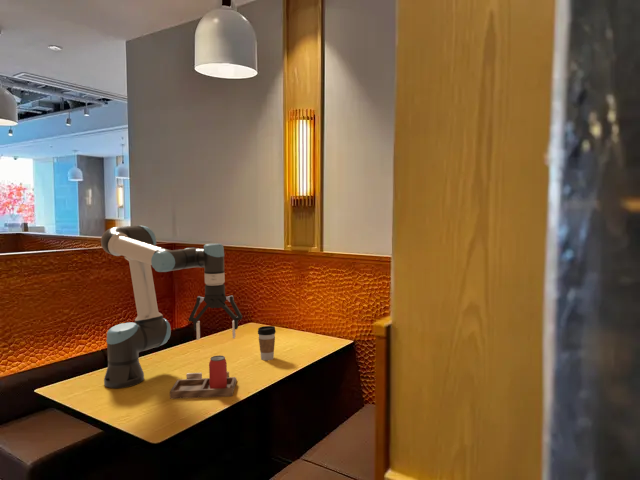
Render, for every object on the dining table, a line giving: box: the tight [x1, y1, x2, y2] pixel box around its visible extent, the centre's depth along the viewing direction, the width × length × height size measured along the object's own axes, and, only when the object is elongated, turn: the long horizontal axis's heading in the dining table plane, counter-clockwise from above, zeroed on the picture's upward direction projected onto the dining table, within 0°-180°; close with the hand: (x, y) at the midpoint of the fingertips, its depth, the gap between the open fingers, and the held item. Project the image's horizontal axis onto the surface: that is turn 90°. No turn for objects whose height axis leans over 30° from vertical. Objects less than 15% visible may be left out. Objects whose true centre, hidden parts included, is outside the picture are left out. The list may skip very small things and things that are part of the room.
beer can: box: [208, 355, 228, 389], centre depth 174 cm, size 7×7×12 cm
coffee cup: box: [257, 325, 277, 361], centre depth 211 cm, size 8×8×15 cm
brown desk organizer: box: [169, 371, 238, 400], centre depth 175 cm, size 23×16×4 cm
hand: (216, 338), depth 173 cm, fingers open, 13 cm apart
